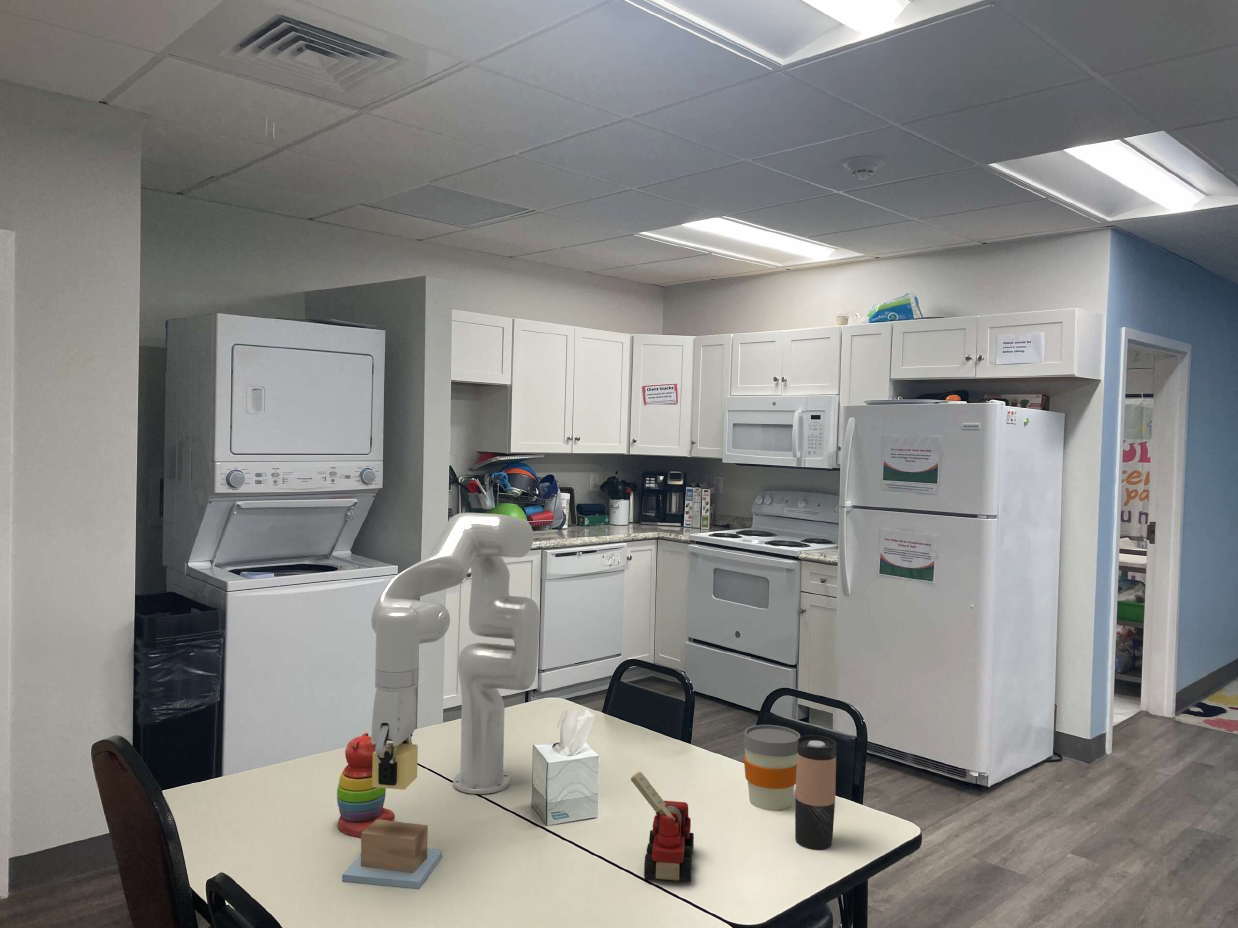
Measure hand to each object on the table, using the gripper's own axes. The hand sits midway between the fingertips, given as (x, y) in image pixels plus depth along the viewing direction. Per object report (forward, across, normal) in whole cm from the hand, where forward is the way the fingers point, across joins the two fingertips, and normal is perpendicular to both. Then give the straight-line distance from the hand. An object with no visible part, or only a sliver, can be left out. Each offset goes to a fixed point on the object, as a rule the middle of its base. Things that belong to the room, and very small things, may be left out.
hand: (394, 776), depth 162 cm
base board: (+17, 0, 0) cm, 17 cm away
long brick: (+16, 0, 0) cm, 16 cm away
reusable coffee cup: (+17, -44, +68) cm, 83 cm away
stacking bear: (+17, -16, -13) cm, 27 cm away
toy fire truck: (+17, -11, +47) cm, 52 cm away
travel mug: (+17, -26, +76) cm, 82 cm away
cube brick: (+1, 0, 0) cm, 1 cm away
